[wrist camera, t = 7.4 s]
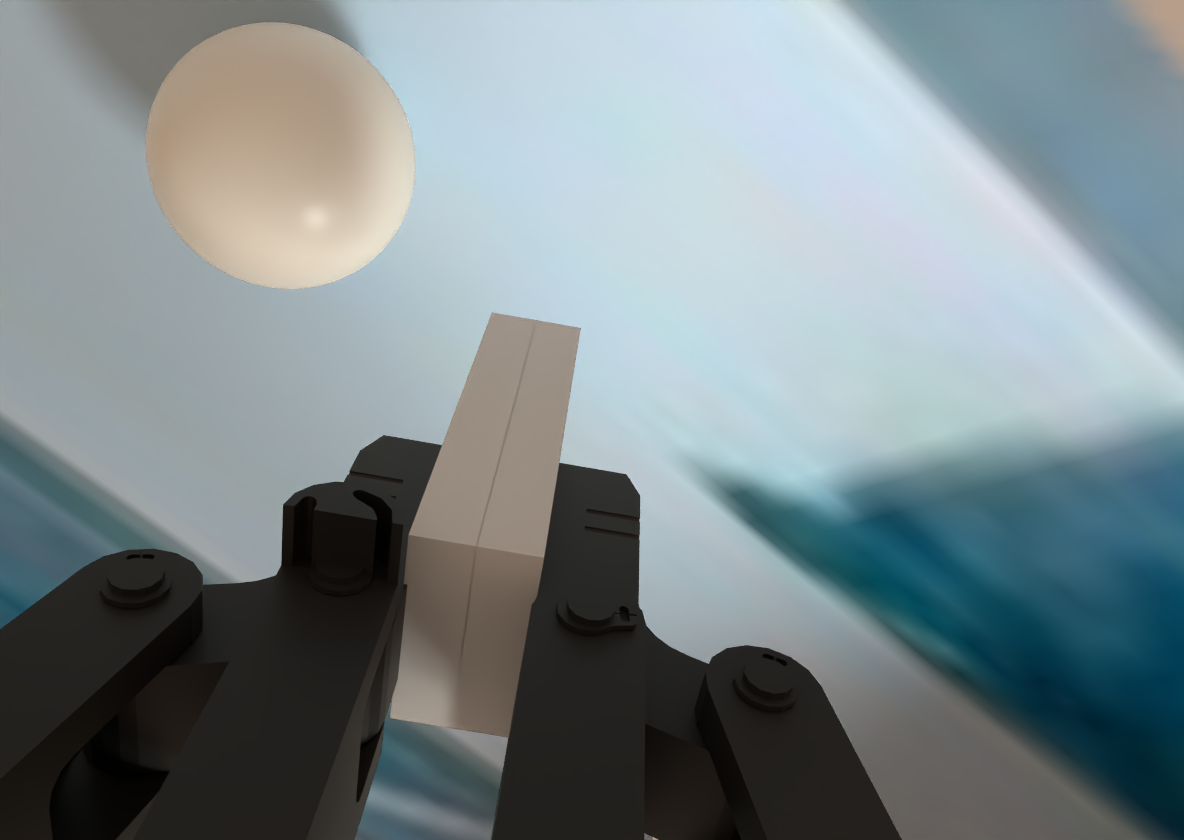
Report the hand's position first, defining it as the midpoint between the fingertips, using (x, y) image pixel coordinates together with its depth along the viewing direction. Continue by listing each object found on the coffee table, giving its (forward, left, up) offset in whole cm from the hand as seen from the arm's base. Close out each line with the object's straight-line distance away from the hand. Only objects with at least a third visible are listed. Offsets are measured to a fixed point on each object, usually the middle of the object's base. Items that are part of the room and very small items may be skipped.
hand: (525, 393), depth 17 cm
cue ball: (+3, +5, -6) cm, 9 cm away
